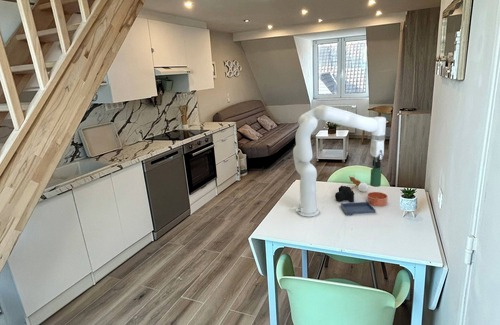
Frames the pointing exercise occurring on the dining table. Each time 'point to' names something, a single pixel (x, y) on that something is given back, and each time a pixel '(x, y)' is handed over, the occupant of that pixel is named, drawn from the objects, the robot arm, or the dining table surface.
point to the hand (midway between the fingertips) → (376, 166)
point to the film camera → (344, 194)
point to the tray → (357, 208)
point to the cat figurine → (359, 184)
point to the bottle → (375, 176)
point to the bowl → (377, 199)
